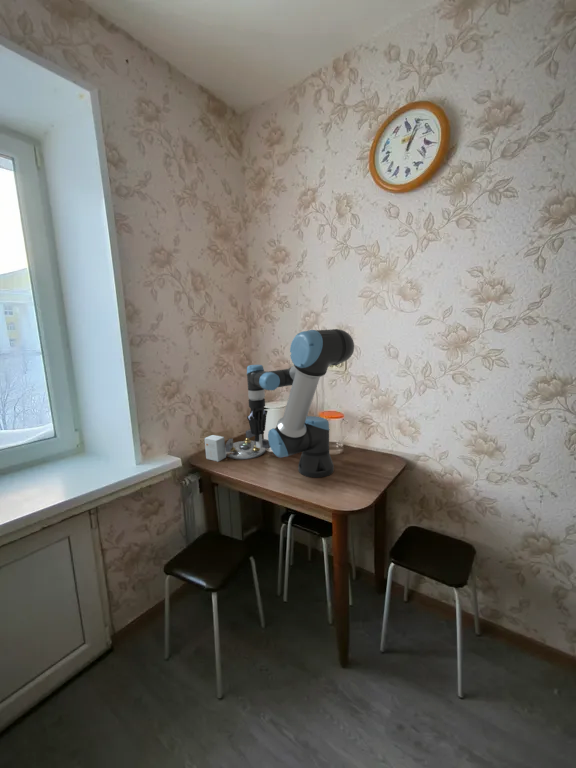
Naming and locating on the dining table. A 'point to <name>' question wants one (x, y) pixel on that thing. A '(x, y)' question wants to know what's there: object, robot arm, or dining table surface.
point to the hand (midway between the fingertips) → (259, 447)
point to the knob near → (264, 444)
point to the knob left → (229, 445)
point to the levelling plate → (244, 451)
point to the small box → (215, 448)
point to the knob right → (248, 436)
